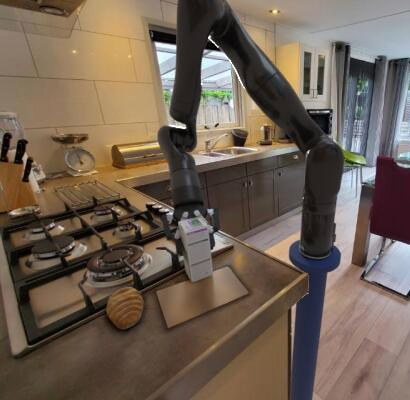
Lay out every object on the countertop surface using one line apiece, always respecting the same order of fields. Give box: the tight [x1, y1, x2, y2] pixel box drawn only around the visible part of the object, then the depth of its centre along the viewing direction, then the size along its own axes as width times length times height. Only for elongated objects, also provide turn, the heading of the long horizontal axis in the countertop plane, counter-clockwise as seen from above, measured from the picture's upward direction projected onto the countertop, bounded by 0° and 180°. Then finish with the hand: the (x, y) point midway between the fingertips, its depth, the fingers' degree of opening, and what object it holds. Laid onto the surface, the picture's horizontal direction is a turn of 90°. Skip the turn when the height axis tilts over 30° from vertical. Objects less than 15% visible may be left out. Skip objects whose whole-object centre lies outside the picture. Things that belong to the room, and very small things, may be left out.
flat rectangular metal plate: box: [155, 265, 250, 330], centre depth 58 cm, size 18×12×1 cm, turn 123°
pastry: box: [105, 286, 145, 331], centre depth 51 cm, size 9×7×4 cm
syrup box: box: [177, 217, 214, 282], centre depth 61 cm, size 6×6×14 cm
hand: (197, 252), depth 60 cm, fingers closed on syrup box, 6 cm apart
